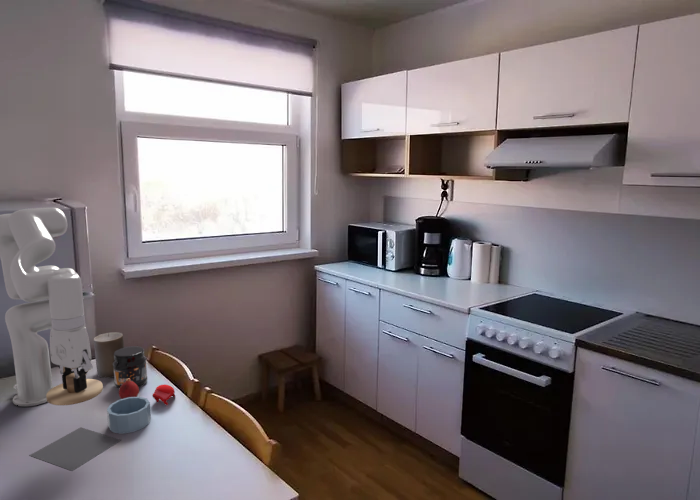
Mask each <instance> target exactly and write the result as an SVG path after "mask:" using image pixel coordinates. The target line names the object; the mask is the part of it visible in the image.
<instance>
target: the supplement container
mask: <svg viewBox="0 0 700 500" xmlns="http://www.w3.org/2000/svg"><path fill="white" fill-rule="evenodd" d="M113 369H114V377H113V379H114V381H113V382H114V386H115V387H116V388H117V389H118V390H119V389H120V387H121V385H122V384H123V383H124V382H126V380H127V379H128V378H130V379H131V380H130V381H132V382H134V383H136V384H137V386H138V388H141V387H143V385H145V384H146V383H147V382H148V371H147V370H148V369H147V357H146V356H145V349H144V348H143V347H141V346H138V345H137V346H135V345H132V346H124V348H121V349H118V350H116V351H115V352H114V361H113Z"/></svg>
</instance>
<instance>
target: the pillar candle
mask: <svg viewBox="0 0 700 500" xmlns="http://www.w3.org/2000/svg"><path fill="white" fill-rule="evenodd" d="M124 343H125V342H124V335H123V332H115V331H114V332H106V333H102V334H101V333H100V334H98V335H97V336H95V337H94V338H93V345H94V346H93V347H94V355H95V363H96V364H95V365H96V375H97V376H98V378H105V379H107V378H108V379H109V378H114V369H113V361H114V352H115V351H116V350H118V349H121V348H124V347H125V344H124Z"/></svg>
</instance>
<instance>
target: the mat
mask: <svg viewBox="0 0 700 500" xmlns="http://www.w3.org/2000/svg"><path fill="white" fill-rule="evenodd" d="M121 441H122V439H120V438H117V437H114V436H110V435H107V434H104V433H100V432H97V431H94V430H90V429H88V428H84V427H79V428H76V429H75V430H73V431H71V432H69V433H68V434H65V435H64V436H62V437H60V438H59V439H57V440H54V441H53V442H51V443H49V444H47V445H45V446H44V447H42V448H40V449H39V450H36V451H34V452H32V453H31V454H29V457H32V458H35V459H37V460H41V461H42V462H46V463H48V464H52V465H54V466H56V467H60V468H63V469H66V470H68V471H71V472H73V471H75V470H76V469H77V468H80V467H81V466H83V465H84V464H86V463H87V462H90V460H92V459H94V458H96V457H97V456H98V455H101V454H102V453H103V452H106V451H107V450H108V449H110V448H112V447H113V446H114V445H117V444H119V443H120V442H121Z"/></svg>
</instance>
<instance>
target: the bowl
mask: <svg viewBox="0 0 700 500" xmlns="http://www.w3.org/2000/svg"><path fill="white" fill-rule="evenodd" d="M106 414H107V426H108V428H109V430H110V431H111V432H112V433H115V434H129V433H134V432H136V431H139V430H141V429H143V428H145V427H147V426H148V424H150V422H151V420H152V413H151V402H150V400H149V399H148V398H145V397H143V396H137V397H128V398H124V399H121V398H120V399H118V400H115V401H114V402H112V403H110V404H109V406H108V407H107V409H106Z"/></svg>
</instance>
